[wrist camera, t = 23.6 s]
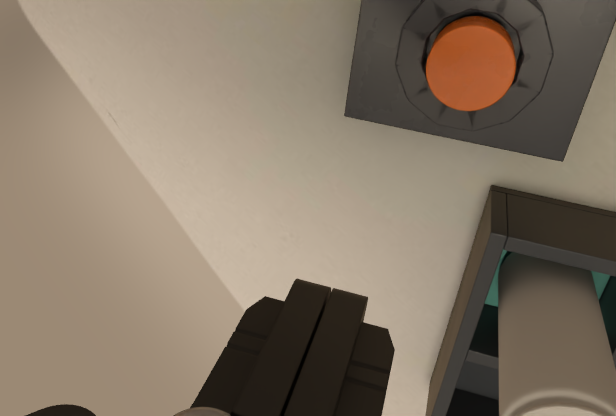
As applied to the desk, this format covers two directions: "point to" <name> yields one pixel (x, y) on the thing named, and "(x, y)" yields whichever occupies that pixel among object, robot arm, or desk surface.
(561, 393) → the beverage can
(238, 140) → the desk surface
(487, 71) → the button
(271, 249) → the desk surface
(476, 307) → the divided tray
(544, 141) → the panel
